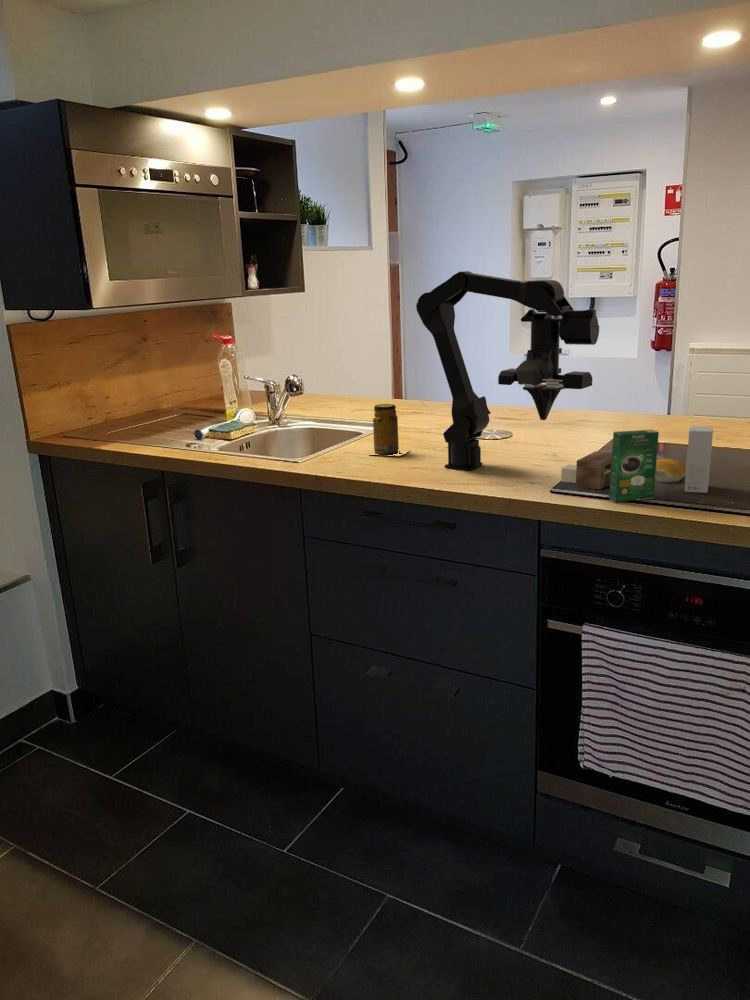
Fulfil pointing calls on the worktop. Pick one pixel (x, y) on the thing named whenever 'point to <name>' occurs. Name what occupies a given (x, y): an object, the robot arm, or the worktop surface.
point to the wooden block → (592, 470)
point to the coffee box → (633, 465)
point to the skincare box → (698, 459)
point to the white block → (570, 474)
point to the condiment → (385, 429)
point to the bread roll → (669, 471)
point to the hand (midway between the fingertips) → (543, 419)
